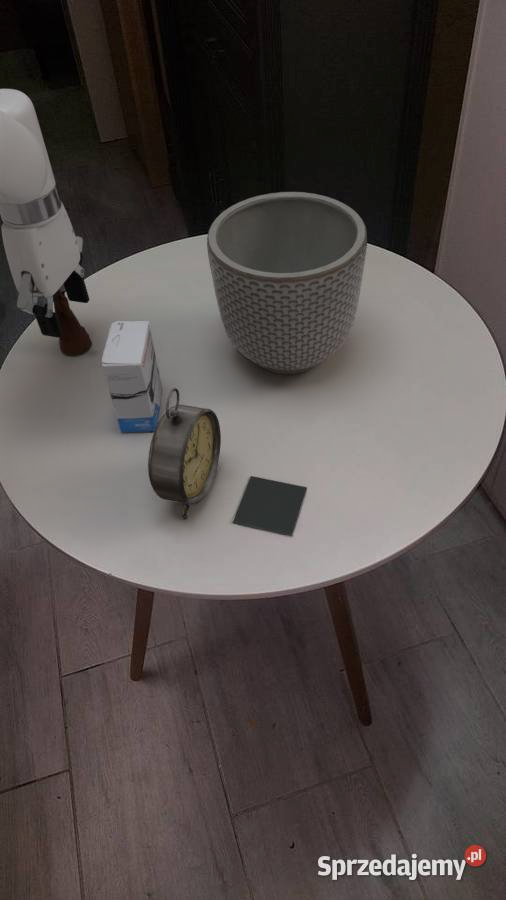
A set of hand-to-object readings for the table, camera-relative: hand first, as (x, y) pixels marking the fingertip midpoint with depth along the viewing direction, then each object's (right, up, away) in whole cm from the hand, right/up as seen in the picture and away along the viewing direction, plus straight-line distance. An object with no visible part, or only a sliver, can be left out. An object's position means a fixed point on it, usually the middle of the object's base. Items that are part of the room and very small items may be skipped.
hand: (66, 317), depth 97 cm
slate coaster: (+29, -25, -17) cm, 42 cm away
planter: (+32, -5, +1) cm, 32 cm away
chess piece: (0, -4, +4) cm, 5 cm away
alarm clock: (+19, -24, -15) cm, 34 cm away
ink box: (+12, -14, -6) cm, 19 cm away
